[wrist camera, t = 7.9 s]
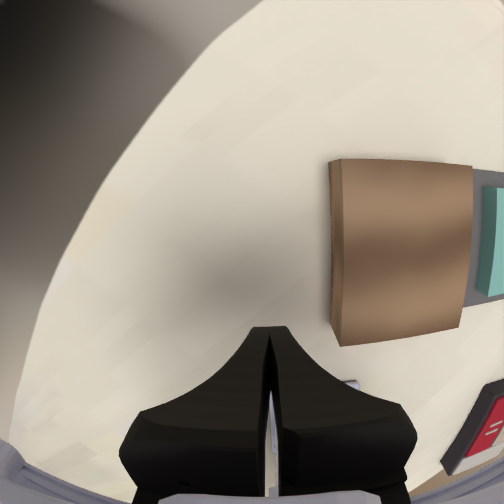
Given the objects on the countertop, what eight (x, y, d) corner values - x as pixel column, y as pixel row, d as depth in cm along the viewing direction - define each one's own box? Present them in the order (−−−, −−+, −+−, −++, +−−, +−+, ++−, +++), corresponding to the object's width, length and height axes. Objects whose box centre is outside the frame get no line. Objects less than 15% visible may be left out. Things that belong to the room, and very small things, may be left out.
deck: (438, 309, 21) (458, 327, 18) (330, 323, 22) (339, 346, 18) (446, 166, 19) (472, 166, 15) (328, 162, 19) (340, 158, 16)
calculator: (544, 379, 20) (499, 457, 22) (527, 365, 24) (488, 442, 26) (498, 398, 20) (449, 480, 23) (480, 380, 24) (438, 461, 27)
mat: (513, 294, 21) (516, 295, 20) (442, 309, 21) (444, 310, 21) (523, 176, 18) (526, 176, 17) (451, 167, 18) (453, 166, 18)
